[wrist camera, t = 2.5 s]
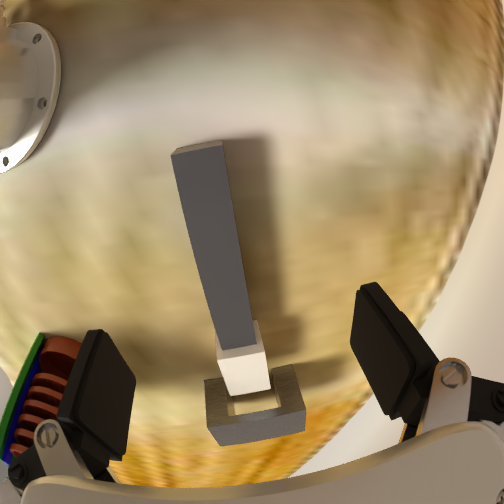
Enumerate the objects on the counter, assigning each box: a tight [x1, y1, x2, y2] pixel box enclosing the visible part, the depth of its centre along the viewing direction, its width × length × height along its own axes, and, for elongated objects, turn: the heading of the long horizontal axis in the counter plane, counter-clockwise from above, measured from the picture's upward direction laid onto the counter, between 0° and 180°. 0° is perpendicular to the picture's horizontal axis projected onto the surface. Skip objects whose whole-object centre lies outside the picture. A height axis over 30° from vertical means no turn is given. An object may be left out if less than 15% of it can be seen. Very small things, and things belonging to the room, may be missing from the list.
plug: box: [171, 140, 271, 396], centre depth 21 cm, size 22×4×4 cm, turn 8°
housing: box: [204, 364, 306, 446], centre depth 28 cm, size 6×10×6 cm, turn 98°
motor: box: [0, 333, 82, 467], centre depth 17 cm, size 10×9×20 cm
